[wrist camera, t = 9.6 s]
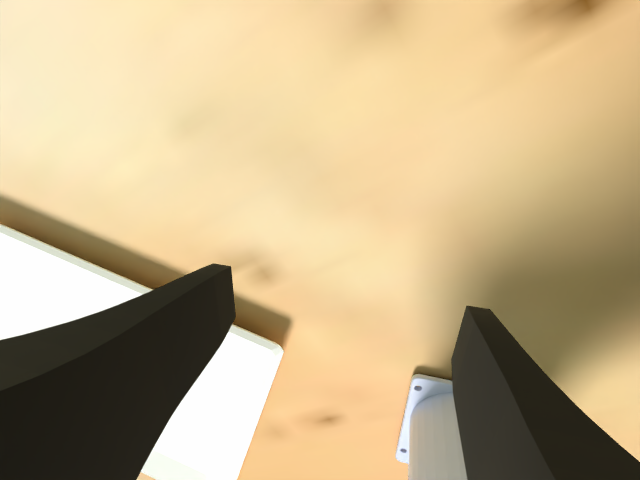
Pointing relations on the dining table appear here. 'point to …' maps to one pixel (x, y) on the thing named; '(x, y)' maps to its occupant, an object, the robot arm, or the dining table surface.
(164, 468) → the plate
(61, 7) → the dining table surface
